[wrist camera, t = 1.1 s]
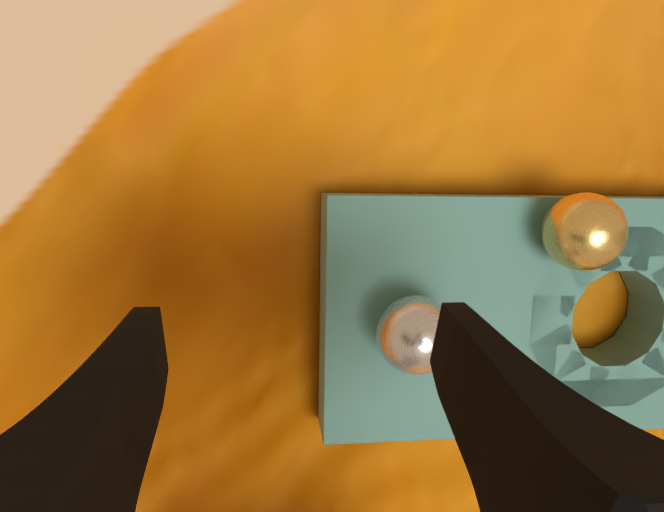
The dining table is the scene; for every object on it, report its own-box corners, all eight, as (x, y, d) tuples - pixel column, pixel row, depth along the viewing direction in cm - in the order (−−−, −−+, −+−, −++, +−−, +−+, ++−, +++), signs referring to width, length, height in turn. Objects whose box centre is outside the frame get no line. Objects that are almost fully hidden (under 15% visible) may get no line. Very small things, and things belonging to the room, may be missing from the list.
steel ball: (439, 357, 23) (466, 387, 20) (368, 359, 23) (384, 389, 20) (443, 287, 23) (471, 305, 20) (370, 287, 22) (387, 307, 19)
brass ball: (598, 264, 23) (641, 278, 20) (526, 263, 23) (559, 278, 20) (605, 191, 23) (651, 194, 20) (531, 190, 23) (566, 193, 19)
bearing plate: (318, 418, 26) (323, 444, 23) (321, 192, 24) (327, 195, 21) (672, 403, 28) (711, 426, 25) (699, 196, 26) (743, 199, 24)
